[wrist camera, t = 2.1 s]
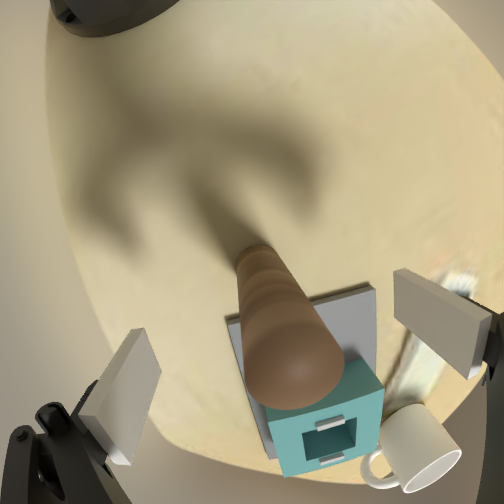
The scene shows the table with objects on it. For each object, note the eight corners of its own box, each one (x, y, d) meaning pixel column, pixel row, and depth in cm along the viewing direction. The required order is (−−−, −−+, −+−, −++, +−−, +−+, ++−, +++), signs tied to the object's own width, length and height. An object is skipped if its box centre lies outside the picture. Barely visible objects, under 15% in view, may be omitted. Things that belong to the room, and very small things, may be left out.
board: (227, 319, 24) (227, 325, 23) (370, 285, 24) (375, 288, 23) (268, 453, 28) (268, 459, 27) (368, 426, 29) (370, 431, 28)
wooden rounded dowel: (232, 250, 22) (233, 344, 9) (276, 240, 22) (341, 318, 9) (241, 292, 23) (255, 417, 10) (284, 282, 23) (345, 395, 10)
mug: (353, 460, 30) (375, 512, 20) (345, 434, 28) (372, 495, 18) (424, 423, 30) (456, 467, 20) (426, 391, 28) (466, 439, 18)
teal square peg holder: (261, 385, 24) (268, 426, 19) (362, 357, 25) (387, 391, 19) (277, 444, 27) (284, 481, 21) (360, 421, 27) (377, 453, 21)
